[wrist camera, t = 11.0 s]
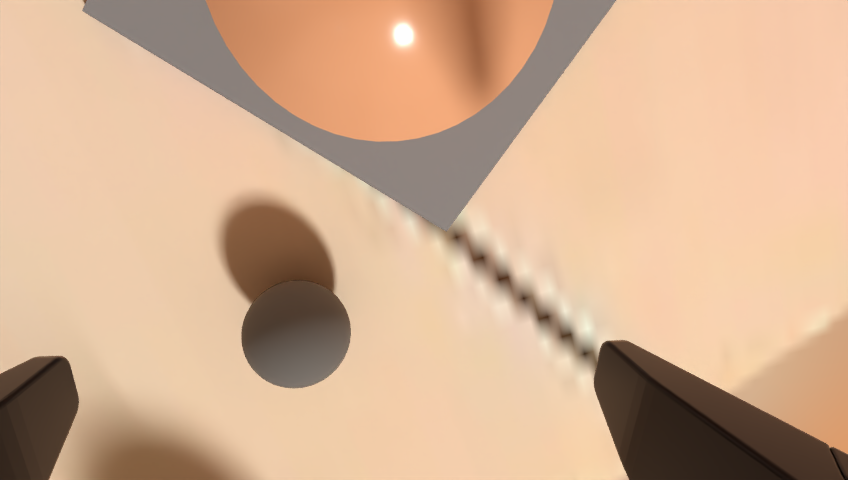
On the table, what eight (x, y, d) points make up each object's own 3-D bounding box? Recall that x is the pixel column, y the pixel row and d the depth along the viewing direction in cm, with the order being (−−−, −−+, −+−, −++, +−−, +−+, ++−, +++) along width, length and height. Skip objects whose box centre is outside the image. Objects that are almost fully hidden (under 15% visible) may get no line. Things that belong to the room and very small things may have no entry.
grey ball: (235, 320, 22) (209, 383, 18) (282, 245, 20) (265, 295, 17) (321, 360, 23) (312, 427, 19) (370, 291, 22) (371, 348, 18)
